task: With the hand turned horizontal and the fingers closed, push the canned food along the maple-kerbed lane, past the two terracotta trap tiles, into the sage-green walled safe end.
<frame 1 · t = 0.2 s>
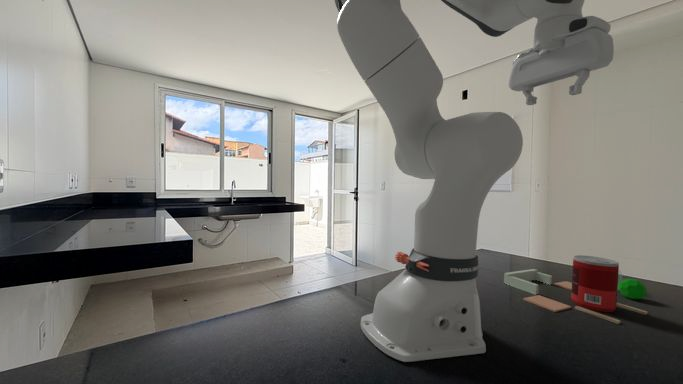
hand: (551, 99, 65), 48 cm above the table, tool pointing down, fingers open, 8 cm apart
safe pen: (534, 280, 78), on the table
trap tiles: (568, 297, 71), on the table
small box: (607, 287, 80), on the table
canned food: (592, 306, 66), on the table
polyhedron: (631, 299, 72), on the table
lane kerbs: (568, 297, 71), on the table
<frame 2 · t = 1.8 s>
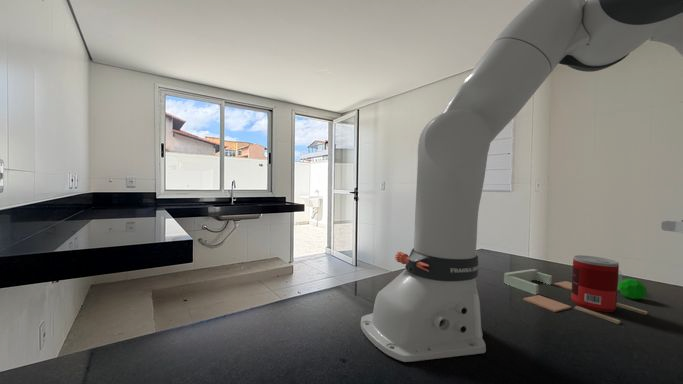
hand: (673, 224, 55), 21 cm above the table, tool horizontal, fingers open, 8 cm apart
nothing on the table moved.
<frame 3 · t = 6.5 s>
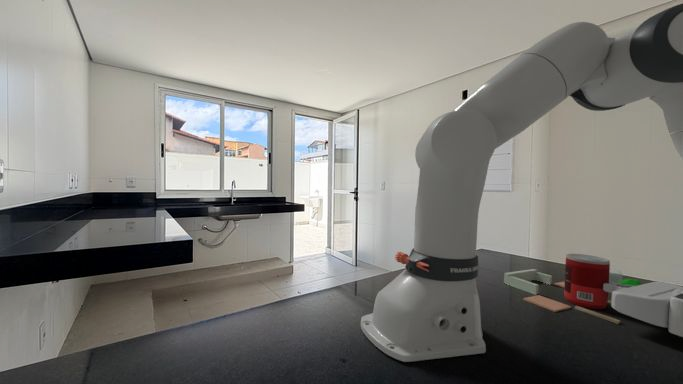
hand: (606, 286, 64), 5 cm above the table, tool horizontal, fingers closed, pressing on canned food
canned food: (584, 303, 67), on the table, touching gripper
everything else where it was.
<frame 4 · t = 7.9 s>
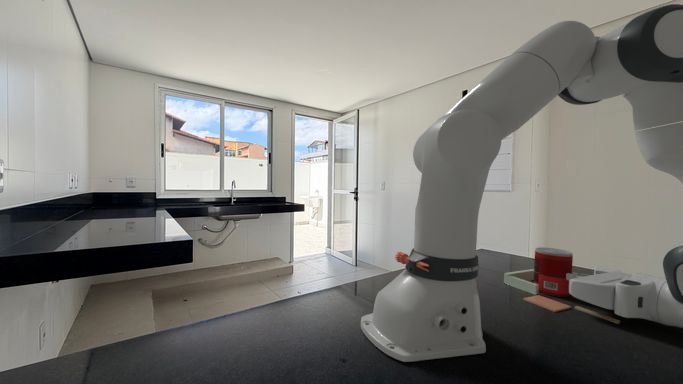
hand: (569, 275, 70), 5 cm above the table, tool horizontal, fingers closed, pressing on canned food
canned food: (551, 292, 74), on the table, touching gripper
everything else where it was.
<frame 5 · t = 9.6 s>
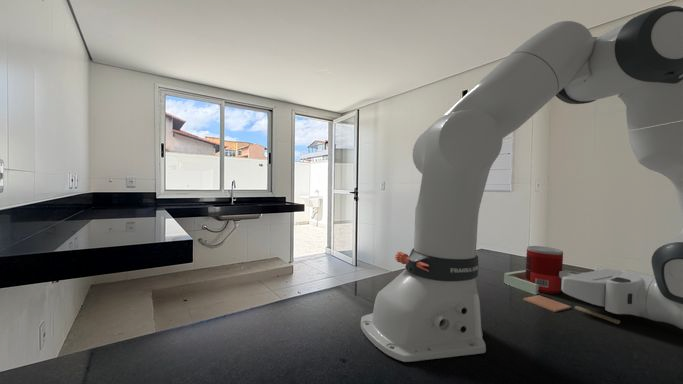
hand: (562, 273, 72), 6 cm above the table, tool horizontal, fingers closed
canned food: (542, 289, 76), on the table
everything else where it was.
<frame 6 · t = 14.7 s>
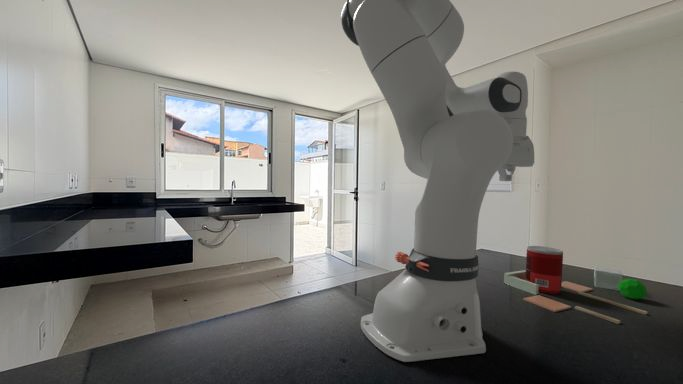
hand: (505, 181, 80), 29 cm above the table, tool pointing down, fingers closed
nothing on the table moved.
at the end: canned food inside the target area (1.2 cm from its centre), on the table; canned food tilted 0°; canned food touching table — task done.
